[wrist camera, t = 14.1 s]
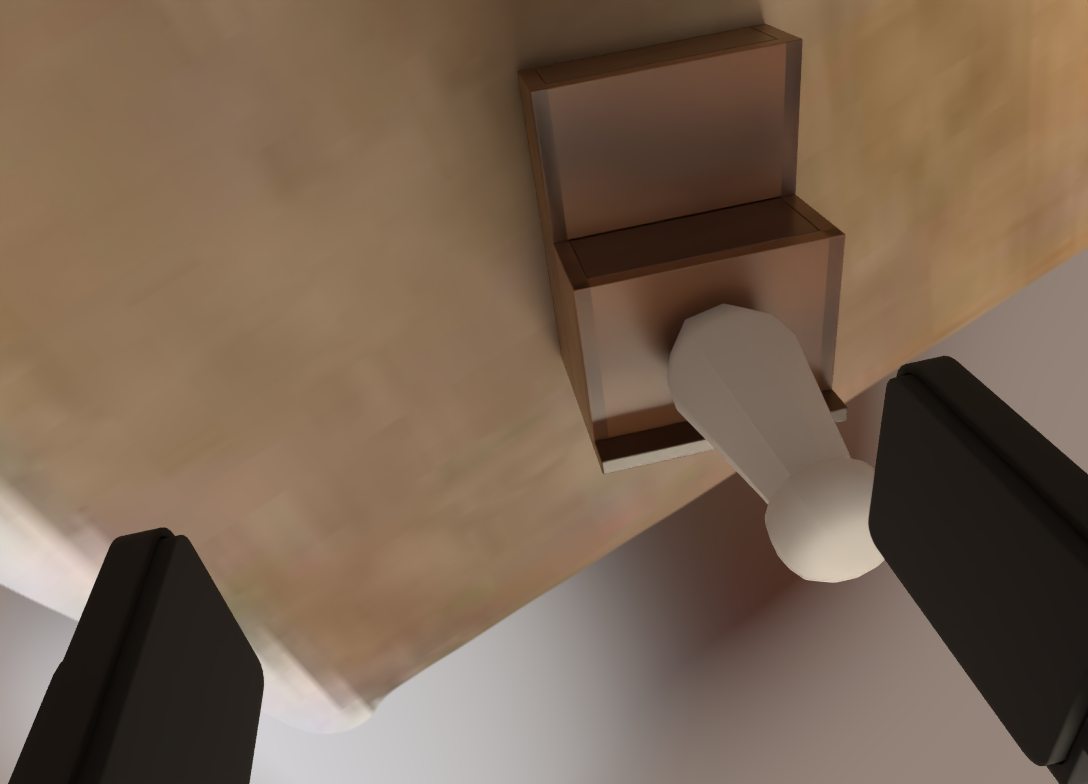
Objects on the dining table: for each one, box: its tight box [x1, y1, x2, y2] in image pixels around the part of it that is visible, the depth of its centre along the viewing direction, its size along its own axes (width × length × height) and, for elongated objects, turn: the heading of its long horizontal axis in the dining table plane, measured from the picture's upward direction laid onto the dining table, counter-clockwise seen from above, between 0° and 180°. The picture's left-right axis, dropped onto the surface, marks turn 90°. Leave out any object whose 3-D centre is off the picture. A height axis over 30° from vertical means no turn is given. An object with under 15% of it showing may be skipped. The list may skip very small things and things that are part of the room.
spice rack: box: [518, 24, 847, 474], centre depth 37 cm, size 16×12×11 cm
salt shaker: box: [667, 303, 885, 582], centre depth 30 cm, size 6×6×13 cm
